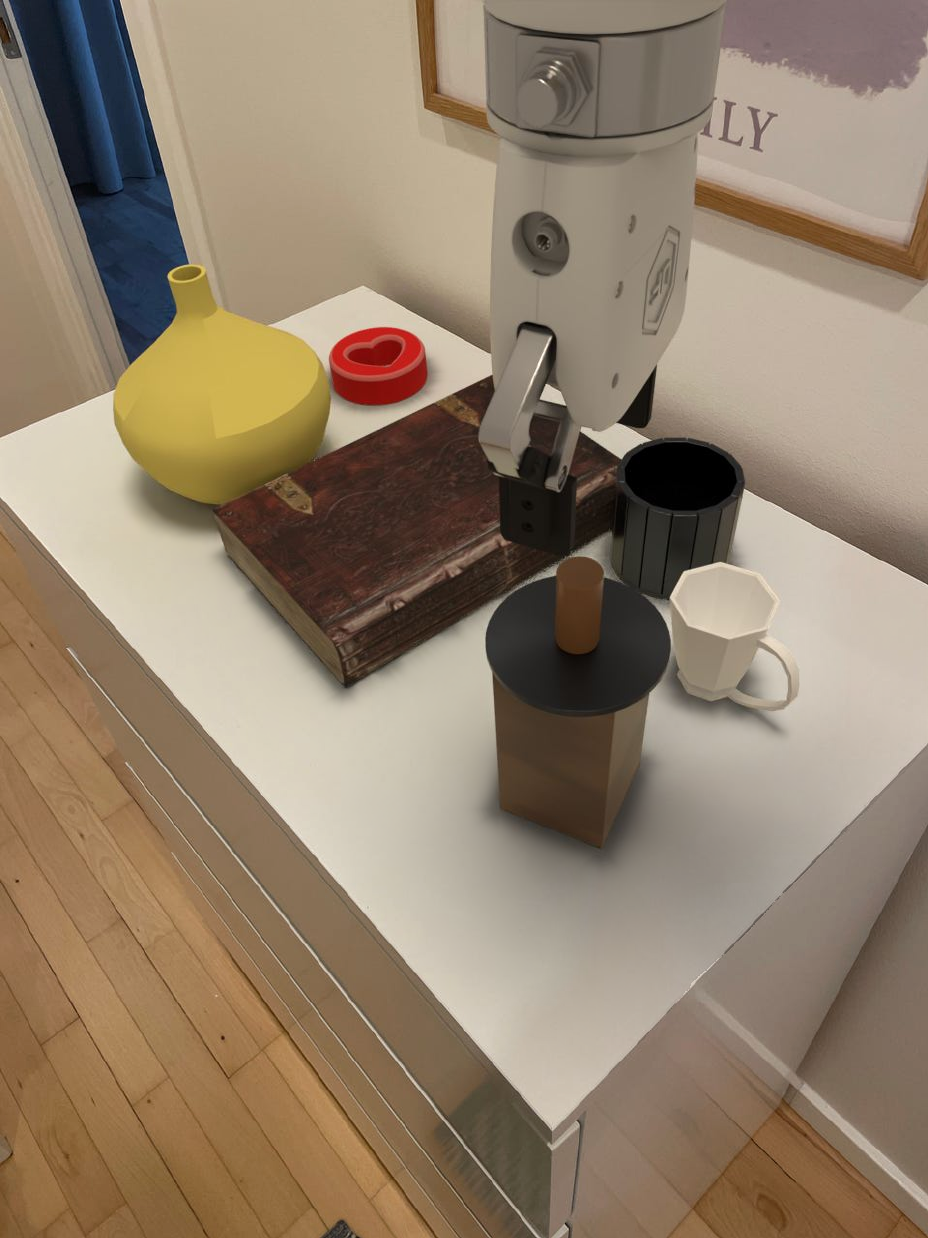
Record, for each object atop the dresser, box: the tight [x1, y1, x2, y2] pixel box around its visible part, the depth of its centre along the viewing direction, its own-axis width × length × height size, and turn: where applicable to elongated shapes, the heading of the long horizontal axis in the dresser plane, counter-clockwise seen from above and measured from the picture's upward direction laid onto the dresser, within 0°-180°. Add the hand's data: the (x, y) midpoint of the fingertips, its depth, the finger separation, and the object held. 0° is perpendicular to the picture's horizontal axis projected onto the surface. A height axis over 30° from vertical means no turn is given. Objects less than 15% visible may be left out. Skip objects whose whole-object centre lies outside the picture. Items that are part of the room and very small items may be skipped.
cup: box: [669, 562, 800, 712], centre depth 63 cm, size 7×10×8 cm
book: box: [211, 374, 622, 688], centre depth 77 cm, size 29×19×5 cm, turn 127°
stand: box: [491, 671, 650, 849], centre depth 57 cm, size 7×7×14 cm
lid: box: [484, 555, 672, 717], centre depth 49 cm, size 10×10×6 cm
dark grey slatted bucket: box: [610, 436, 746, 600], centre depth 72 cm, size 9×9×8 cm
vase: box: [112, 263, 332, 506], centre depth 80 cm, size 18×18×19 cm
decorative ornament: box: [328, 326, 429, 406], centre depth 95 cm, size 10×10×3 cm
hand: (579, 477), depth 43 cm, fingers open, 9 cm apart
